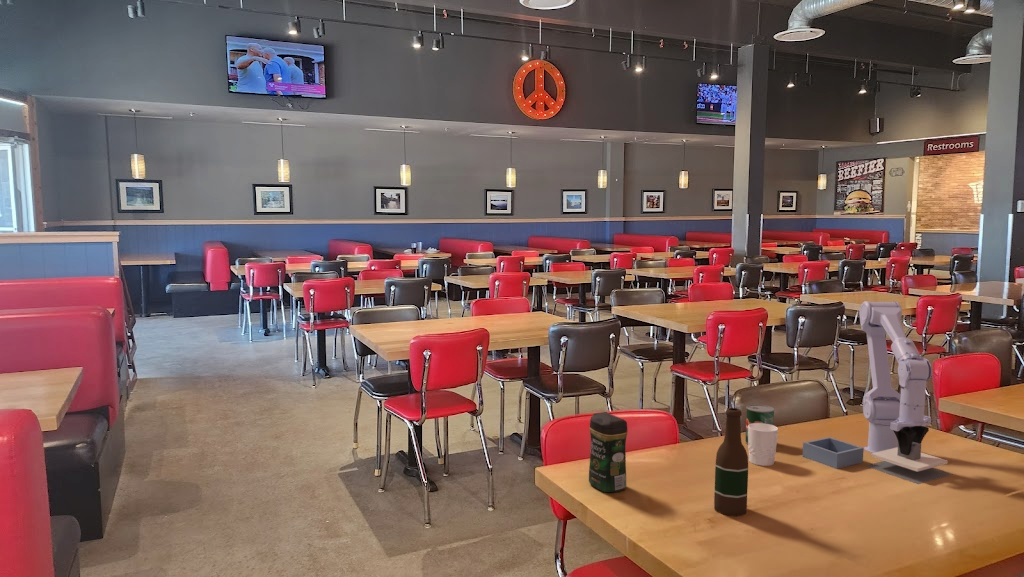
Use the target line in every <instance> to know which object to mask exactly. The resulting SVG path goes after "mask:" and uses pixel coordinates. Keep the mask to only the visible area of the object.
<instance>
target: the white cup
mask: <svg viewBox="0 0 1024 577" xmlns="http://www.w3.org/2000/svg"><path fill="white" fill-rule="evenodd" d="M778 433H779V428H778V427H777V426H776V425H774V424H773V425H770V424H764V423H752V424H749V425H748V444H747V449H748V450H747V451H748V463H751V464H753V465H756V466H761V467H763V466H764V467H770V466H773V465H774V464H775V458H776V454H777V453H776V452H777V444H778V435H779V434H778Z"/></svg>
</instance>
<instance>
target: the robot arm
mask: <svg viewBox="0 0 1024 577" xmlns="http://www.w3.org/2000/svg"><path fill="white" fill-rule="evenodd" d="M858 312H859V322H860V323H859V325H860V328H861V331H863V332H864V333H866V340H867V348H868V356H869V357H868V359H869V368H870V375H871V376H870V377H871V383H872V388H871V389H870V390H868V391H867V392H866V393H865V394H864V395H863V405H862V413H863V416H864V418H865V419H866V420H867V421H868V435H867V436H868V437H867V438H868V439H867V446H864V447H862V446H861V447H862V448H864V451H865V452H869V453H876V452H880V451H884V450H888V449H892V448H896V447H898V443H899V448H900V452H901V453H902V454H905V455H909V454H910V451H911V446H912V442H916V443H919V444H921V445H922V442H923V440H924V438H925V436H926V435H927V434H928V433H929V430H930V427H929V426H928V425H931V423H932V417H931V416H928V415H925V408H926V405H925V404H926V390H927V382H928V381H929V380H930V379H931V378H932V374H933V373H932V372H933V370H932V369H933V368H932V365H931V363H930V360H929V359H927V358H925V357H924V356H921V354H920V352H919V350H918V348H917V347H916V345H915V342H914V341H913V340H912V339H911V338H909V337H907V336H906V334H905V331H904V328H903V325H902V322H901V320H902V315H903V313H902V312H903V310H902V306H901V305H900V303H899V302H898V301H895V300H894V301H869V300H865V301H863V302H862V303H861V305H860V308H859V311H858ZM886 335H888V337H889V339H890V340H891V342H892V343H891V345H890V349H891V351H892V353H893V355H894V358H895V360H896V362H897V363H898V365H897V374H898V383H899V386H900V393H899V392H898V391H897V390H895V389H894V388H893V387H892V380H891V371H890V363H889V355H888V348H887V347H888V346H887V339H886ZM927 426H928V427H927Z"/></svg>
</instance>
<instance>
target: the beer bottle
mask: <svg viewBox="0 0 1024 577" xmlns="http://www.w3.org/2000/svg"><path fill="white" fill-rule="evenodd" d="M725 415H726V418H725V419H726V421H725V431H724V438H723V442H721V444H720V446H718V448H717V451H716V456H715V457H716V458H715V465H714V466H715V468H714V496H713V498H714V502H713V505H714V506H713V507H714V511H716V512H717V513H719V514H721V515H723V516H729V517H739V516H743V515H746V514H747V506H748V486H749V485H748V482H749V454H748V453H747V449H746V448H745V446H744V444H743V443H742V436H741V435H742V431H741V427H742V424H741V417H742V415H743V413H742V410H741V409H740V408H737V407H729V408H726V411H725Z"/></svg>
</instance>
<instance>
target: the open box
mask: <svg viewBox="0 0 1024 577" xmlns="http://www.w3.org/2000/svg"><path fill="white" fill-rule="evenodd" d="M864 451H865V450H864V448H862V446H859V445H856V444H852V443H849V442H846V441H843V440H840V439H836V438H834V437H830V436H827V437H823V438H817V439H814V440H808V441H803V442H802V457H803V458H805V459H808V460H811V461H813V462H816V463H818V464H821V465H825V466H827V467H830V468H833V469H835V470H836V469H837V470H839V469H841V468H846V467H851V466H853V465H855V466H856V465H858V464H862V463H863V462H864Z"/></svg>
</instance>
